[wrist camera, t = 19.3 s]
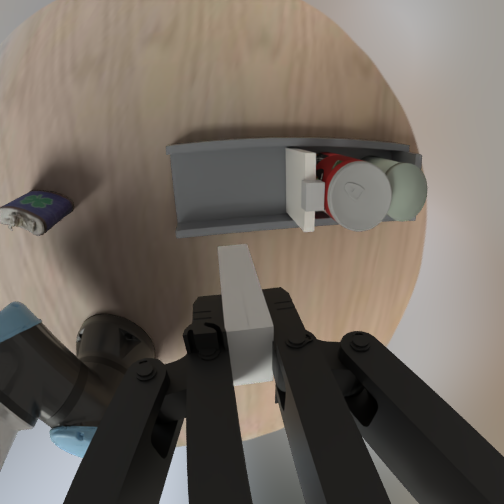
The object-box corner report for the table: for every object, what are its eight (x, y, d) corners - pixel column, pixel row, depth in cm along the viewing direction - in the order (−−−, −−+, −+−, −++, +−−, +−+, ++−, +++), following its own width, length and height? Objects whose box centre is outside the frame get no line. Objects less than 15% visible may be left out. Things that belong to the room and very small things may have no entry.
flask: (28, 203, 33) (-12, 227, 23) (29, 186, 32) (-12, 205, 22) (73, 216, 35) (38, 244, 25) (75, 197, 34) (38, 220, 24)
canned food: (305, 144, 35) (340, 152, 25) (355, 160, 37) (401, 174, 27) (291, 198, 38) (320, 224, 28) (341, 210, 40) (380, 238, 30)
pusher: (283, 212, 38) (305, 237, 30) (282, 147, 35) (306, 154, 26) (297, 211, 39) (322, 236, 30) (297, 147, 35) (325, 154, 26)
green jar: (347, 202, 39) (380, 222, 31) (350, 152, 36) (385, 161, 28) (387, 202, 40) (423, 220, 32) (391, 155, 37) (429, 165, 29)
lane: (179, 227, 38) (173, 247, 32) (170, 144, 34) (161, 148, 27) (389, 212, 42) (414, 227, 36) (394, 142, 37) (422, 147, 31)
